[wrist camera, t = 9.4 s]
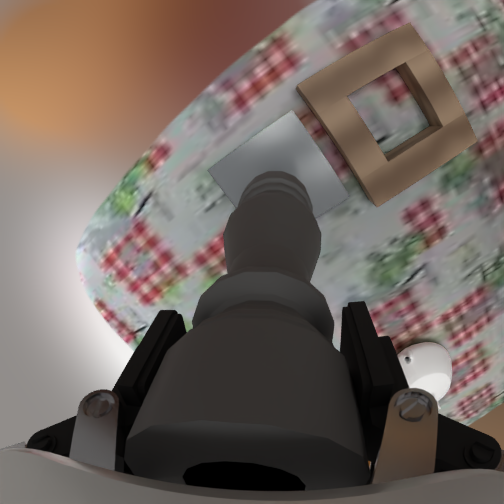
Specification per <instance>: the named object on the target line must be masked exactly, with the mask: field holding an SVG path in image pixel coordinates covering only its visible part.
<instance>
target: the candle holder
mask: <svg viewBox="0 0 504 504" xmlns="http://www.w3.org/2000/svg"><path fill="white" fill-rule="evenodd" d="M223 236H224V250H225V258H226V265H227V272H228V274H226V275H224V276H221V277H220V278H219V279H218V280H217V281H216V282H215V283H214V284H213V285H212V286H211V287H209V288H208V289H207V290H206V291H205V292H204V293H203V294H202V295H201V297H200V299H199V302H198V305H197V308H196V311H195V314H194V317H193V320H192V325H193V329H191V330H189V331H188V332H187V333H186V334H185V335H184V336H183V337H182V338H181V339H179V340H178V341H177V342H176V343H175V344H174V345H173V346H172V347H171V348H169V349H168V350H167V352H166V354H165V356H164V359H163V361H162V363H161V365H160V367H159V369H158V371H157V373H156V376H155V378H154V380H153V382H152V384H151V386H150V389H149V391H148V393H147V395H146V397H145V399H144V402H143V404H142V406H141V408H140V410H139V413H138V415H137V417H136V419H135V422H134V424H133V426H132V428H131V431H130V433H129V435H128V437H127V440H126V446H125V454H124V460H125V462H126V463H127V465H128V466H129V468H130V469H131V471H132V472H133V474H134V475H135V476H138V477H143V478H148V479H153V480H158V481H164V482H170V483H176V484H183V485H190V486H197V487H206V488H216V489H228V490H244V491H309V490H325V489H337V488H347V487H355V486H363V485H366V483H367V481H368V480H369V478H370V469H369V463H368V456H367V450H366V444H365V438H364V432H363V427H362V421H361V416H360V413H359V408H358V403H357V397H356V392H355V387H354V382H353V378H352V375H351V372H350V370H349V367H348V364H347V362H346V359H345V356H344V355H343V354H342V353H340V352H339V351H338V350H337V349H336V348H334V346H333V343H332V339H333V331H334V320H333V317H332V315H331V312H330V310H329V307H328V304H327V302H326V299H325V297H324V295H323V294H321V293H320V292H319V291H318V290H317V289H316V288H315V287H314V286H313V285H312V284H311V283H310V280H311V278H312V275H313V272H314V269H315V266H316V263H317V260H318V258H319V255H320V250H321V232H320V229H319V227H318V224H317V222H316V219H315V217H314V214H313V206H312V203H311V200H310V197H309V195H308V193H307V190H306V188H305V186H304V185H303V184H302V183H301V182H300V181H299V180H298V179H297V178H296V177H295V176H293V175H291V174H288V173H286V172H283V171H267V172H265V173H263V174H260V175H258V176H256V177H255V178H254V179H253V180H252V181H251V182H250V183H249V184H248V185H247V186H246V188H245V190H244V191H243V193H242V195H241V198H240V201H239V203H238V206H237V208H236V209H235V211H234V212H233V213H232V214H231V215H230V217H229V220H228V223H227V225H226V228H225V231H224V234H223Z"/></svg>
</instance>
